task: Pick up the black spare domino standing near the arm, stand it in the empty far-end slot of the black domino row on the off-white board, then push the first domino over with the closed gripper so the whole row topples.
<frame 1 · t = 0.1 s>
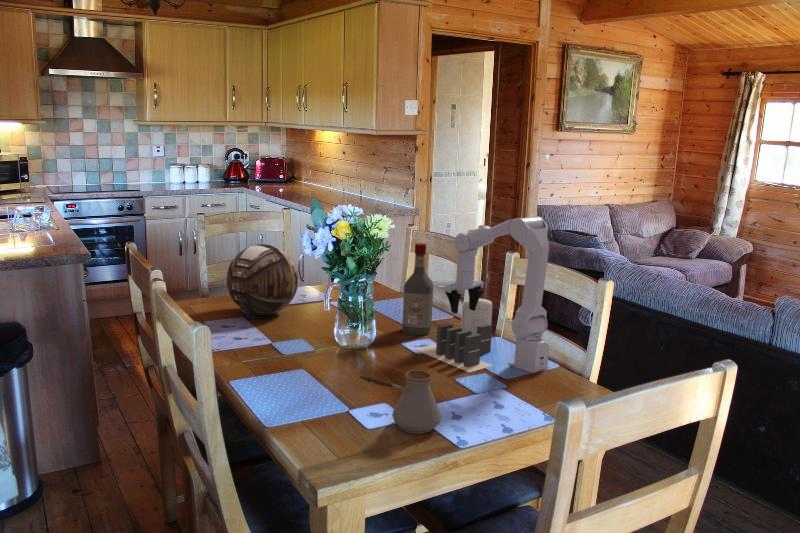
hand: (463, 311, 226), 10 cm above the table, fingers open, 7 cm apart
domino 2: (462, 360, 208), resting on domino board
coffee pot: (397, 431, 162), on the table
domino board: (452, 358, 211), on the table
liquor: (416, 332, 236), on the table
cream rounded block: (475, 334, 236), on the table
domino 5: (482, 353, 217), on the table
domino 3: (452, 357, 211), resting on domino board
domino 4: (443, 353, 214), resting on domino board
sphere: (263, 314, 250), on the table
domino 1: (471, 364, 205), resting on domino board
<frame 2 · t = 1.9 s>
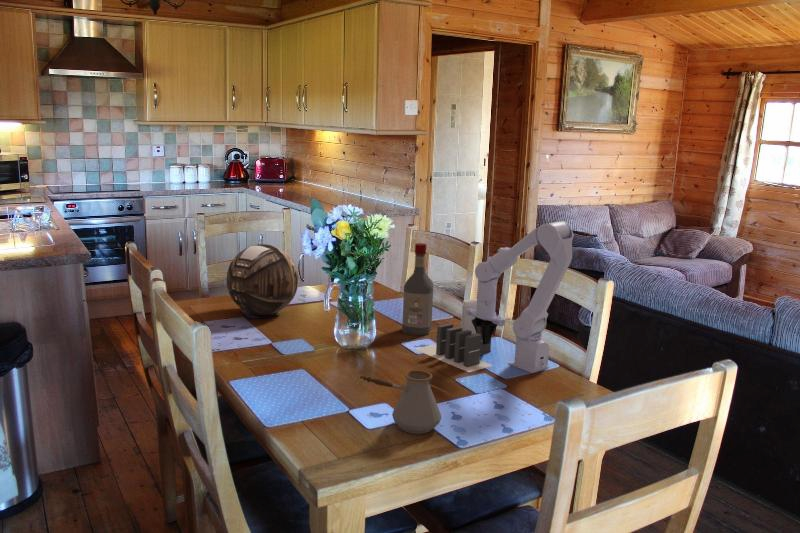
hand: (483, 342, 216), 3 cm above the table, fingers closed on domino 5, 2 cm apart
domino 5: (482, 353, 217), on the table, touching gripper
everything else where it was.
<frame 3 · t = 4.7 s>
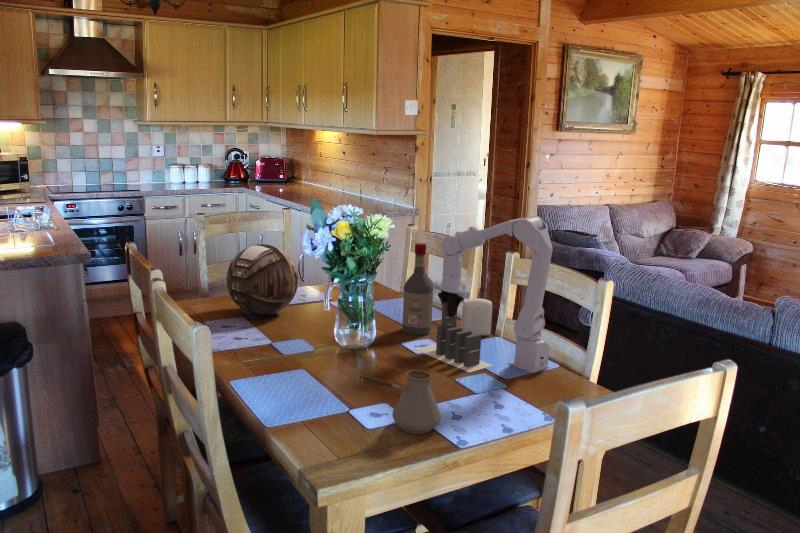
hand: (449, 315, 219), 10 cm above the table, fingers closed on domino 5
domino 5: (448, 329, 220), point 6 cm above the table, touching gripper
everything else where it was.
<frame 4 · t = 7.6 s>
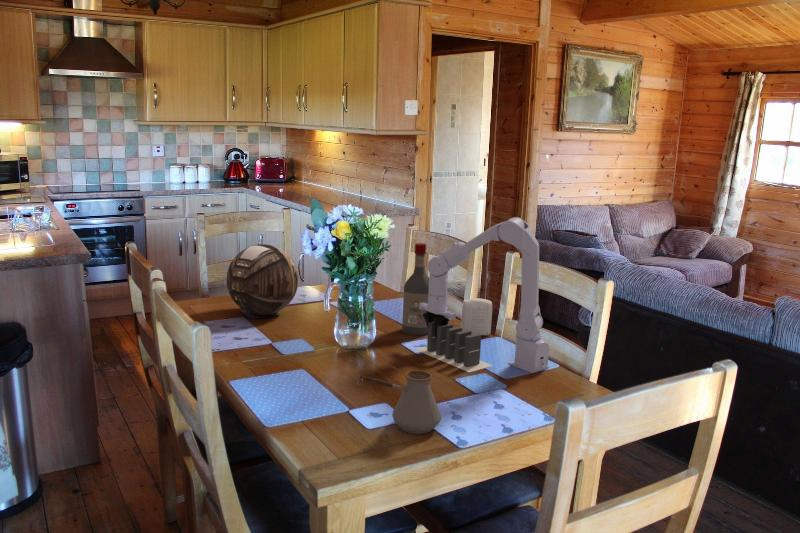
hand: (435, 336, 216), 5 cm above the table, fingers closed
domino 5: (434, 349, 217), resting on domino board
domino 4: (443, 353, 214), resting on domino board, touching gripper
everything else where it was.
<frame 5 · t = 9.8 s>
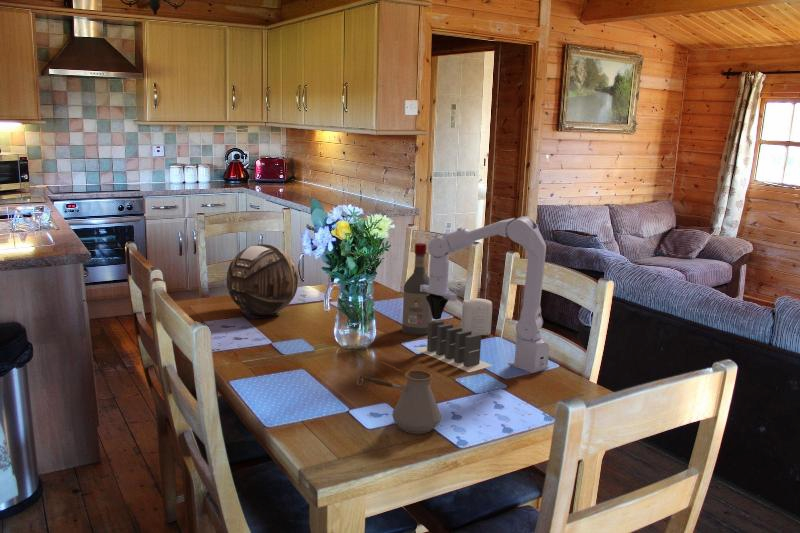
hand: (436, 318, 215), 10 cm above the table, fingers closed
domino 4: (443, 353, 214), resting on domino board
everything else where it was.
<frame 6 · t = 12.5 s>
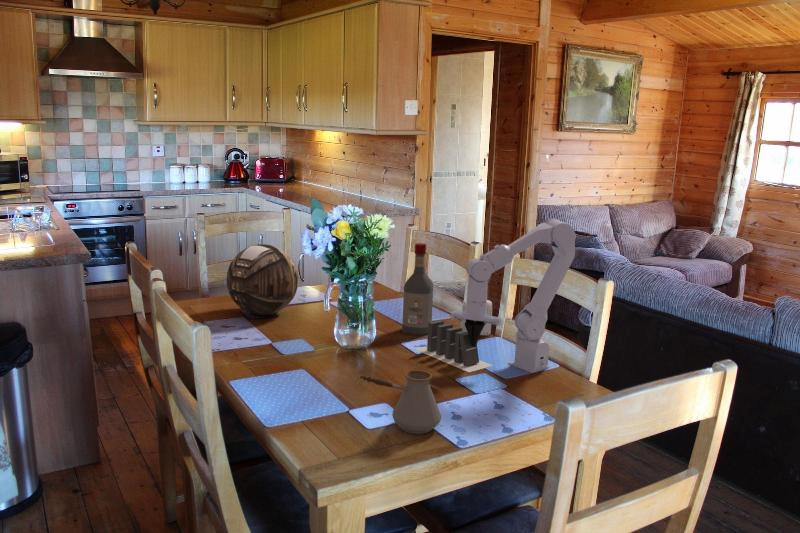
hand: (473, 345, 204), 6 cm above the table, fingers closed
domino 2: (462, 360, 208), resting on domino board, touching domino 1
domino 1: (471, 364, 205), point 1 cm above the table, tilted 16°, touching domino 2, domino board
everything else where it was.
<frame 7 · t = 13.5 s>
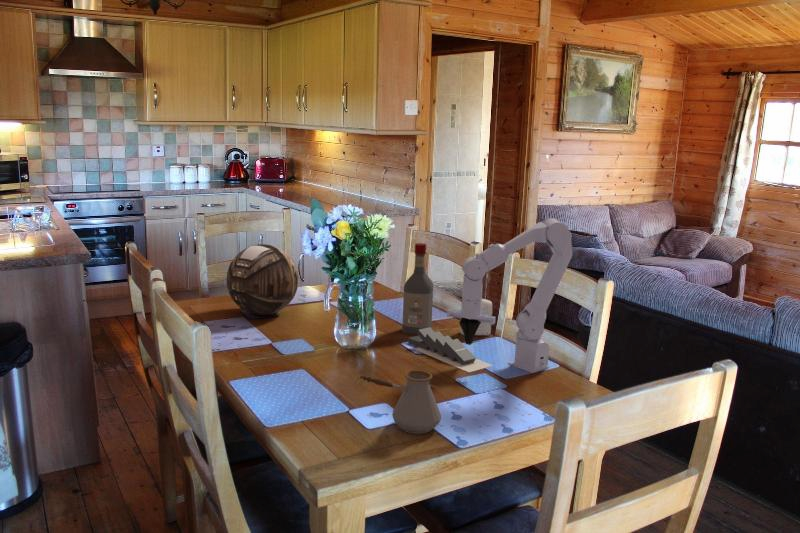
hand: (469, 343, 205), 6 cm above the table, fingers closed
domino 2: (459, 357, 209), point 1 cm above the table, tilted 67°, touching domino 1, domino 3, domino board
domino 5: (432, 346, 218), point 1 cm above the table, tilted 90°, touching domino 4, domino board
domino 3: (449, 353, 212), point 1 cm above the table, tilted 64°, touching domino 2, domino 4, domino board
domino 4: (440, 349, 215), point 1 cm above the table, tilted 64°, touching domino 3, domino 5
domino 1: (469, 361, 206), point 1 cm above the table, tilted 66°, touching domino 2, domino board
everything else where it was.
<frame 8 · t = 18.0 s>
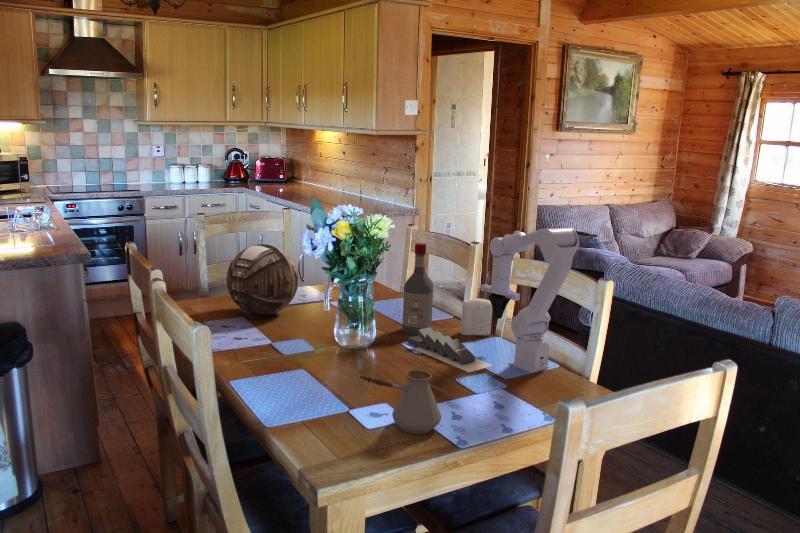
hand: (498, 317, 218), 10 cm above the table, fingers closed
nothing on the table moved.
at the end: domino 5 inside the target area (0.1 cm from its centre), point 1.1 cm above the table; domino 5 tilted 90°; domino 1 tilted 66° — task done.
